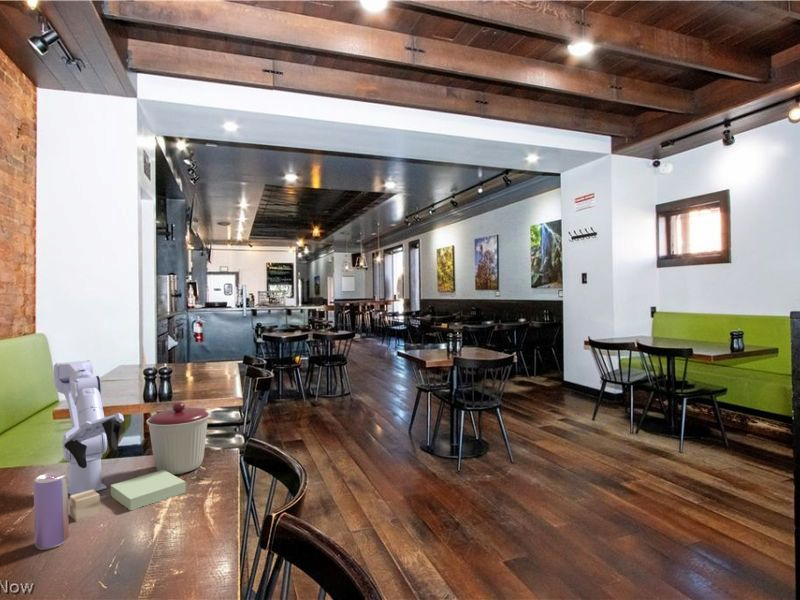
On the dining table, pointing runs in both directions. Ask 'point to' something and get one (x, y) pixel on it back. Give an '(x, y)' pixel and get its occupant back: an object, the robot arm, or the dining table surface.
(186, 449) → the canister
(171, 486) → the green plinth
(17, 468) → the dining table surface
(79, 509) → the maple block
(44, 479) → the beverage can
